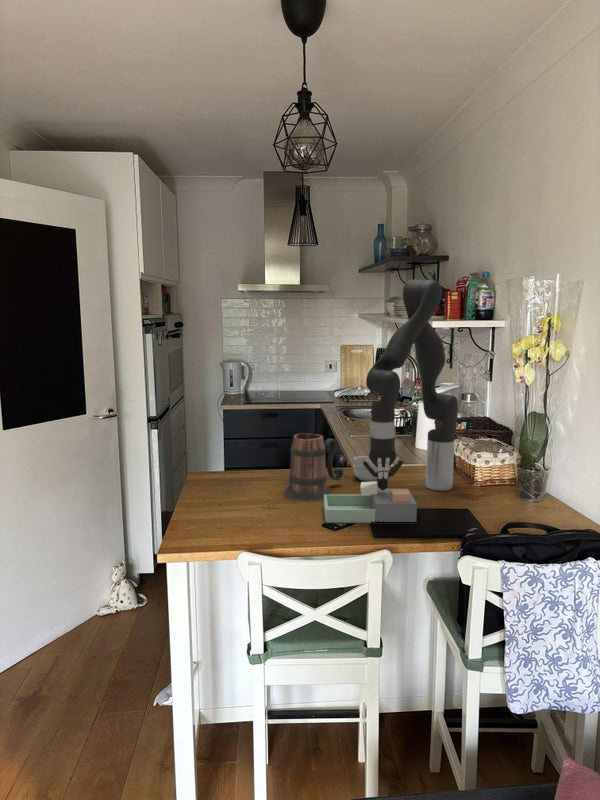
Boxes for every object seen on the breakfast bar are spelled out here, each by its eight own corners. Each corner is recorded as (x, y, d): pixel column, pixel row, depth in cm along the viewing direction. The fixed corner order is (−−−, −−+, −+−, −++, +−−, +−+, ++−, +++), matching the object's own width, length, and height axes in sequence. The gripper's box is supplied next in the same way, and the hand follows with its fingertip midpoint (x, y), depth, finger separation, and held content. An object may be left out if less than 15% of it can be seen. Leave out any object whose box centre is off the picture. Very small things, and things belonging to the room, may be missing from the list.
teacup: (347, 478, 213) (347, 457, 212) (367, 473, 220) (367, 452, 219) (375, 487, 203) (376, 465, 202) (395, 481, 210) (396, 460, 209)
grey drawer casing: (369, 506, 183) (370, 488, 182) (407, 506, 184) (408, 488, 183) (375, 523, 170) (376, 503, 169) (416, 523, 170) (417, 503, 169)
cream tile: (361, 489, 182) (361, 482, 182) (377, 488, 181) (376, 481, 181) (361, 495, 177) (360, 487, 177) (377, 494, 176) (376, 486, 176)
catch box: (323, 506, 183) (323, 494, 183) (369, 506, 183) (369, 494, 183) (325, 522, 170) (325, 509, 169) (375, 523, 170) (375, 510, 169)
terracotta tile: (390, 496, 175) (390, 489, 174) (406, 497, 175) (406, 489, 174) (392, 502, 170) (392, 494, 169) (409, 502, 170) (409, 494, 169)
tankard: (302, 504, 185) (303, 444, 182) (273, 491, 199) (273, 434, 195) (357, 491, 199) (358, 434, 196) (326, 479, 212) (327, 426, 209)
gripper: (402, 431, 179) (401, 485, 182) (359, 432, 179) (359, 486, 182) (406, 437, 172) (406, 492, 174) (362, 438, 172) (362, 493, 174)
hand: (382, 489), depth 178 cm, fingers closed
